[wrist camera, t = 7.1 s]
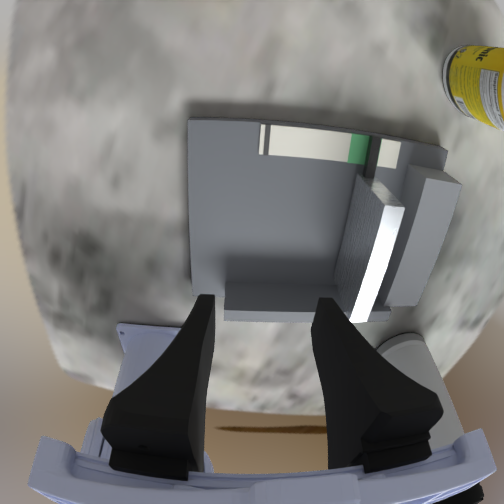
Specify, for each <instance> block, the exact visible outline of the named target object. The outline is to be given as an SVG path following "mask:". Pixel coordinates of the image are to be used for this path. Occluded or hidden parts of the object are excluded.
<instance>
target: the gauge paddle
mask: <svg viewBox="0 0 504 504" xmlns="http://www.w3.org/2000/svg"><path fill="white" fill-rule="evenodd" d="M381 140H382V138H381V137H379V136H374V135H370V136H369V142H368V148H367V153H366V159H365V164H364V169H363V174H361V173H357V174H356V179H355V184H354V189H353V194H352V199H351V204H350V209H349V213H348V218H347V222H346V227H345V231H344V236H343V240H342V244H341V248H340V253H339V257H338V261H337V265H336V269H335V273H334V280H335V283H336V286H337V288H338V291H339V294H340V297H341V300H342V303H343V306H344V309H345V312H346V315H347V317H348V319H349V320H350V321H351V322H367V319H368V317H369V314H370V311H371V309H372V306H373V304H374V301H375V298H376V296H377V293H378V290H379V287H380V285H381V282H382V279H383V276H384V273H385V271H386V268H387V265H388V262H389V259H390V256H391V253H392V250H393V246H394V243H395V240H396V237H397V234H398V230H399V227H400V224H401V220H402V217H403V213H404V210H405V207H404V206H403V205H402V204H401V203H400V201H399V200H398V199H397V198H396V197H395V196H394V195H393V194H392V193H391V192H390V191H389V190H388V189H387V188H386V187H385V186H384V185H383V184H382V183H381V182H380V181H379V180H378V179H377V178H376V177H375V171H376V166H377V161H378V156H379V151H380V146H381Z"/></svg>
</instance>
